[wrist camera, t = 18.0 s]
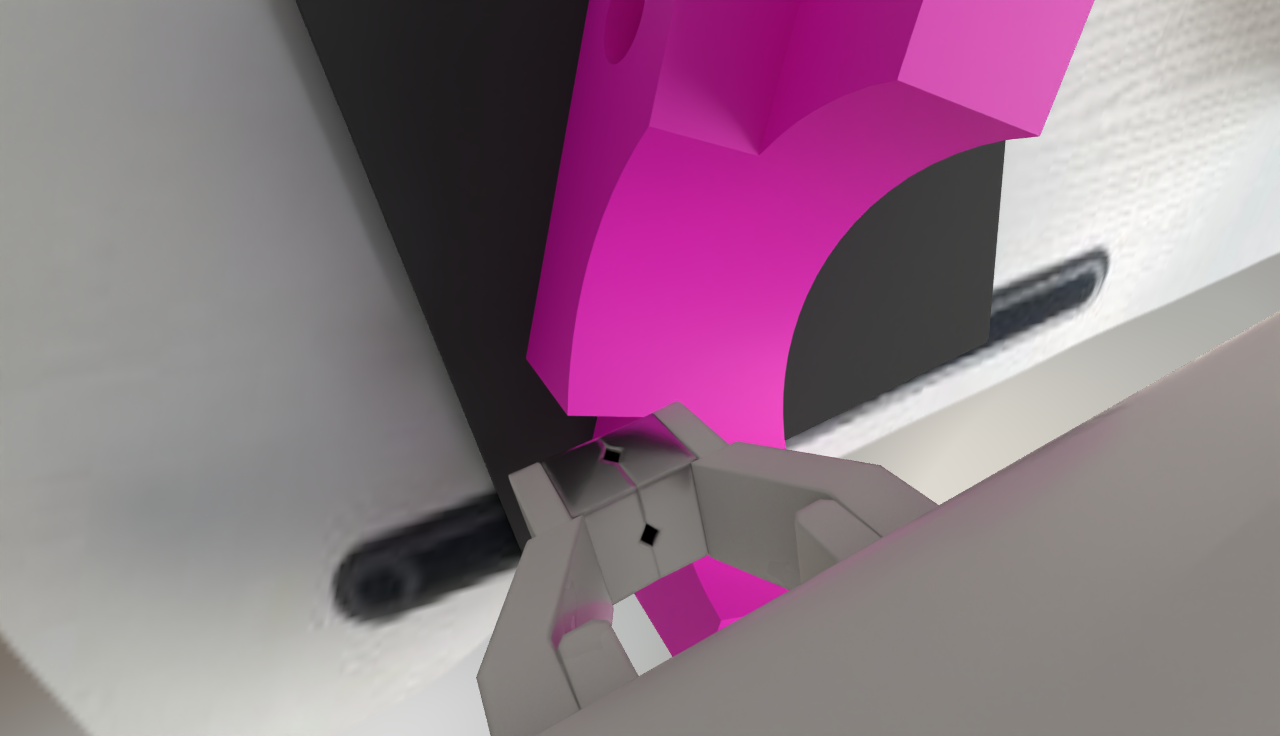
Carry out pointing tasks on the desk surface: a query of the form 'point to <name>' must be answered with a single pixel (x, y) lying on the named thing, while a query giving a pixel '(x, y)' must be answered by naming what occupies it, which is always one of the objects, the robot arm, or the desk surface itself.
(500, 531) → the desk surface
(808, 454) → the robot arm
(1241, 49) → the desk surface
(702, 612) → the toy block
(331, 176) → the desk surface
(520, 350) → the mat
